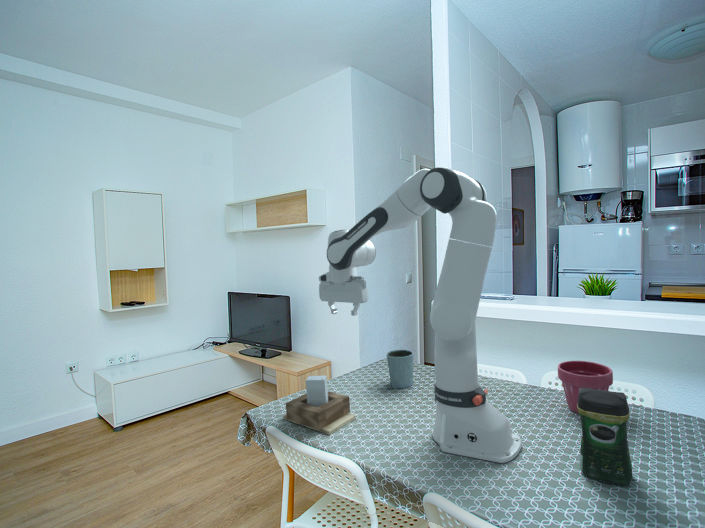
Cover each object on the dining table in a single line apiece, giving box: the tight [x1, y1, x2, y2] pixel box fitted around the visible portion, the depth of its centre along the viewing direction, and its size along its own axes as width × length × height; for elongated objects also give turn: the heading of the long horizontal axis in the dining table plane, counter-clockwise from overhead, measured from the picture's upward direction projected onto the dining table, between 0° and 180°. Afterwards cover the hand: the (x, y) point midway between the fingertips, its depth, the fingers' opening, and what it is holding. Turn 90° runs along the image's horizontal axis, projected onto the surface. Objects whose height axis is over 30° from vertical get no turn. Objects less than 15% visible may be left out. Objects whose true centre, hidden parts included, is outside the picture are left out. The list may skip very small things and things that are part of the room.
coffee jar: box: [577, 387, 633, 486], centre depth 83 cm, size 10×8×19 cm
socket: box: [282, 390, 357, 436], centre depth 120 cm, size 20×14×6 cm
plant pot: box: [557, 360, 614, 414], centre depth 115 cm, size 14×14×13 cm
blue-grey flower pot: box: [386, 349, 414, 389], centre depth 145 cm, size 10×10×12 cm
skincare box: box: [305, 375, 329, 407], centre depth 120 cm, size 6×4×12 cm
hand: (344, 314), depth 137 cm, fingers open, 8 cm apart
